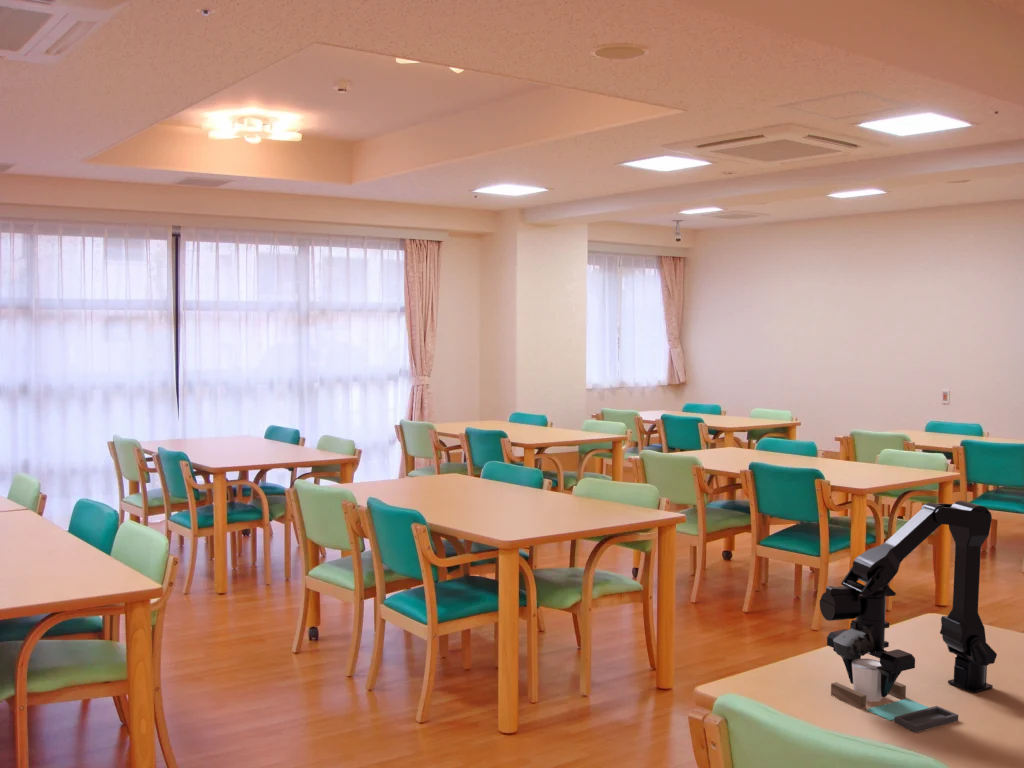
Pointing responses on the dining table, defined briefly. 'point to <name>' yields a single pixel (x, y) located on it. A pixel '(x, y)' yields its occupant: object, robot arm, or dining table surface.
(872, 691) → the white cup
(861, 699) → the brown bar
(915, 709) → the teal pad
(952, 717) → the trap pit
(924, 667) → the dining table surface
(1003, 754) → the dining table surface
